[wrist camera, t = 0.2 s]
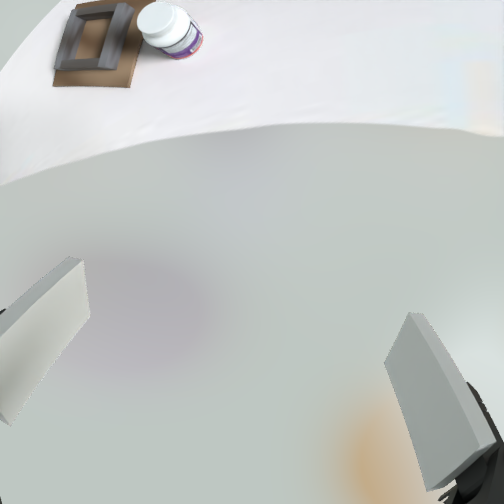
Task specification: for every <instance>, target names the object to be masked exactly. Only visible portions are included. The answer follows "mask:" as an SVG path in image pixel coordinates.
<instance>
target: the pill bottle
mask: <svg viewBox="0 0 504 504" xmlns="http://www.w3.org/2000/svg"><path fill="white" fill-rule="evenodd" d="M137 26H138V28H139V30H140V31H142V35H143V38H144V39H145V41H146V42H147V43H148V44H150V45H151V46H153V47H155V48H156V49H158V50H160V51H161V52H163V53H165V54H166V55H168V56H169V57H171V58H174V59H186V58H189V57H191V56H193V55H195V54H196V53H197V52H198V51H199V50H200V48H201V47H202V45H203V41H204V35H203V32H202V30H201V29H200V27H199V26H198V25H197V24H196V23H195V21H194V20H193V19H192V18H191V17H190V15H189V14H188V13H187V12H186V11H185V10H184V9H183V8H181V7H179V6H176V5H170V4H169V3H167V2H165V1H156V2H153V3H150V4H149V5H147V6H146V7H144V8H143V9H142V11H141V12H140V13H139V15H138V18H137Z"/></svg>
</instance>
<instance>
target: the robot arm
mask: <svg viewBox="0 0 504 504" xmlns="http://www.w3.org/2000/svg"><path fill="white" fill-rule="evenodd" d="M90 315H91V314H90V309H89V303H88V295H87V287H86V280H85V271H84V261H83V260H82V259H78V258H73V257H68V258H66V259H65V260H64V261H63V262H61V263H60V264H59V265H58V266H56V267H55V268H54V269H53V270H51V271H50V272H49V273H48V274H46V275H45V276H44V277H43V278H42V279H41V280H39V281H38V282H37V283H36V284H34V285H33V286H32V287H31V288H30V289H29V290H28V291H26V292H25V293H24V294H23V295H22V296H21V297H20V298H18V299H17V300H16V301H15V302H14V303H13V304H12V305H11V306H10V307H9V308H7V309H3V310H1V311H0V420H1V421H3V422H4V423H6V424H7V425H9V426H11V425H12V423H13V421H14V420H15V418H16V417H17V415H18V414H19V412H20V411H21V409H22V408H23V406H24V405H25V403H26V402H27V400H28V399H29V397H30V396H31V394H32V393H33V392H34V390H35V389H36V387H37V386H38V384H39V383H40V381H41V380H42V379H43V377H44V376H45V375H46V373H47V372H48V370H49V369H50V368H51V366H52V365H53V364H54V362H55V361H56V360H57V358H58V357H59V355H60V354H61V353H62V352H63V350H64V349H65V348H66V346H67V345H68V344H69V342H70V341H71V340H72V339H73V337H74V336H75V334H76V333H77V332H78V331H79V330H80V328H81V327H82V326H83V324H84V323H85V322H86V321H87V320H88V318H89V317H90ZM384 364H385V367H386V369H387V372H388V375H389V377H390V380H391V383H392V385H393V388H394V391H395V393H396V396H397V399H398V401H399V405H400V407H401V410H402V413H403V416H404V419H405V422H406V425H407V428H408V431H409V434H410V437H411V440H412V443H413V446H414V449H415V453H416V455H417V459H418V463H419V466H420V469H421V473H422V477H423V480H424V483H425V487H426V491H427V492H428V491H432V490H436V489H440V488H443V487H445V486H446V485H448V484H449V483H450V482H451V481H453V480H454V479H455V480H456V483H457V484H456V485H455V486H454V487H452V488H451V489H450V490H448V491H447V492H446V493H444V494H443V495H442V496H441V497H440V498H439V499H438V501H441V500H443V499H444V498H446V497H447V496H449V497H448V499H447V500H446V501H444V502H443V503H444V504H504V442H503V440H502V438H501V436H500V434H499V432H498V430H497V428H496V426H495V424H494V422H493V420H492V418H491V417H490V414H489V412H487V409H486V407H485V405H484V404H483V403H482V399H481V398H480V396H479V394H478V392H477V391H476V390H475V389H474V388H473V387H472V386H471V385H470V384H469V383H468V382H465V380H464V378H463V376H462V375H461V373H460V371H459V370H458V368H457V366H456V364H455V363H454V361H453V359H452V358H451V356H450V354H449V353H448V351H447V350H446V348H445V346H444V345H443V343H442V342H441V340H440V339H439V337H438V335H437V334H436V332H435V331H434V329H433V328H432V326H431V325H430V323H429V322H428V320H427V319H426V317H425V316H424V315H423V314H419V313H408V315H407V317H406V319H405V322H404V324H403V326H402V328H401V330H400V332H399V334H398V337H397V339H396V340H395V342H394V345H393V346H392V348H391V350H390V352H389V354H388V356H387V358H386V360H385V362H384ZM0 504H2V502H1V498H0Z"/></svg>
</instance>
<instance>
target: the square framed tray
mask: <svg viewBox="0 0 504 504" xmlns="http://www.w3.org/2000/svg"><path fill="white" fill-rule="evenodd" d="M153 2H156V0H100V1H93V2H87V3H82V4H77V5H76V8H75V9H74V10H72V11H71V14H70V16H69V19H68V22H67V25H66V28H65V31H64V34H63V37H62V41H61V44H60V47H59V51H58V55H57V58H56V62H55V66H54V69H56V73H55V78H54V82H53V86H103V87H125V88H130V85H131V81H132V77H133V73H134V69H135V65H136V61H137V58H138V54H139V50H140V47H141V44H142V40H143V35H142V31H140V30H139V28H138V26H137V18H138V15H139V13H140V12H141V11H142V9H143V8H144V7H146V6H147V5H149V4H150V3H153Z"/></svg>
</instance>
